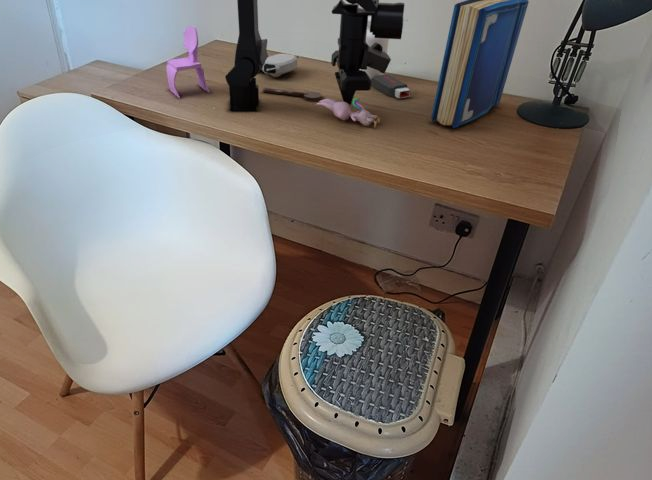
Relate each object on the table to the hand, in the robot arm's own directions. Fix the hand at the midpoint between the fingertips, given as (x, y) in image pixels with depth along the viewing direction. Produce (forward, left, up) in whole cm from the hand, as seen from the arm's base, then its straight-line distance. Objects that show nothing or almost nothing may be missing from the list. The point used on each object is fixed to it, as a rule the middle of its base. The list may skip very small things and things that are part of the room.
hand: (347, 107), depth 123 cm
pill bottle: (+10, +25, -2) cm, 27 cm away
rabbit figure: (0, -3, -2) cm, 4 cm away
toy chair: (-38, +15, -2) cm, 41 cm away
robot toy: (-17, +30, -2) cm, 35 cm away
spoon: (-12, +12, -2) cm, 18 cm away
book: (+29, -1, -2) cm, 29 cm away
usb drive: (+14, +15, -2) cm, 21 cm away
